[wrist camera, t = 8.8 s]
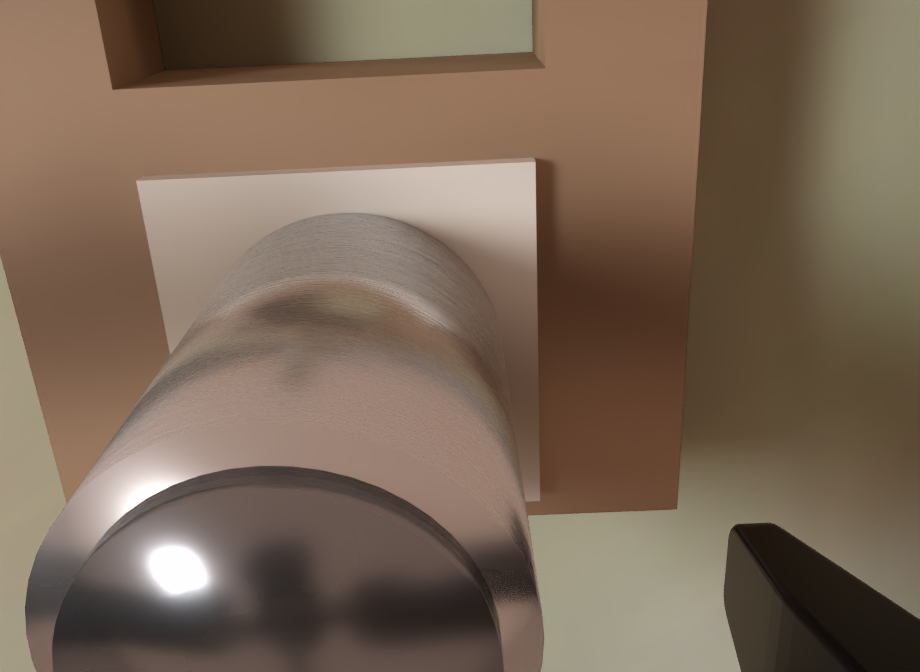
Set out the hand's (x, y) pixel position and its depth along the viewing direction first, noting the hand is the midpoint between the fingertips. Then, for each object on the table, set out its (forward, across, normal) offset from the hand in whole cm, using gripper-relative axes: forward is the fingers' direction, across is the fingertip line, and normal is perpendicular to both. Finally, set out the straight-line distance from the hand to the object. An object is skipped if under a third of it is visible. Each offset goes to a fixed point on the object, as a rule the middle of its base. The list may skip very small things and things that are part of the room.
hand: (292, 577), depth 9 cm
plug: (+6, 0, 0) cm, 6 cm away
